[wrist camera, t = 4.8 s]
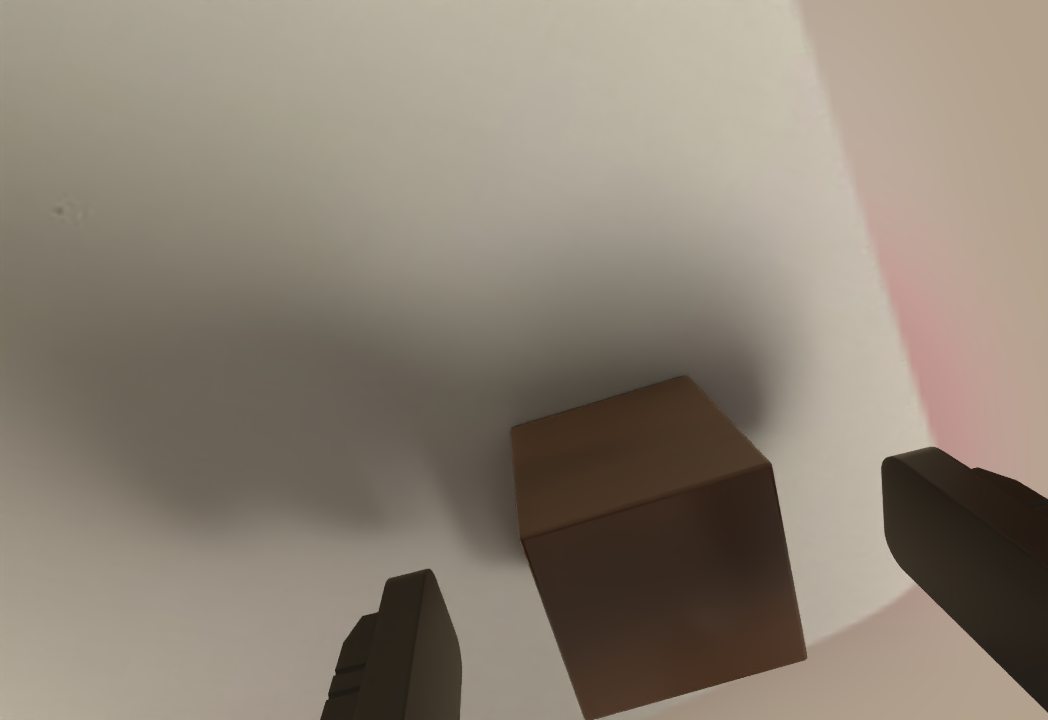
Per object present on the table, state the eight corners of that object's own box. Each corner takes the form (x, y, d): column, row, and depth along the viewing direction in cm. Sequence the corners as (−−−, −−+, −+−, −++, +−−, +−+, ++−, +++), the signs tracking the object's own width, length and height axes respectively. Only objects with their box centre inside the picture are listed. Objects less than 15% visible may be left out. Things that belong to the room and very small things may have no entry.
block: (721, 526, 14) (810, 661, 10) (558, 573, 14) (585, 724, 10) (687, 373, 13) (773, 462, 9) (508, 427, 13) (518, 537, 9)
